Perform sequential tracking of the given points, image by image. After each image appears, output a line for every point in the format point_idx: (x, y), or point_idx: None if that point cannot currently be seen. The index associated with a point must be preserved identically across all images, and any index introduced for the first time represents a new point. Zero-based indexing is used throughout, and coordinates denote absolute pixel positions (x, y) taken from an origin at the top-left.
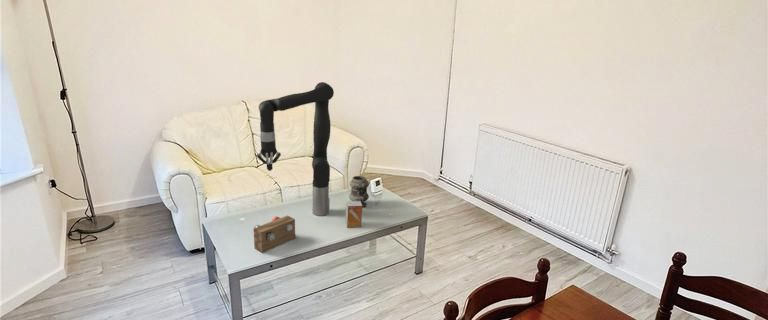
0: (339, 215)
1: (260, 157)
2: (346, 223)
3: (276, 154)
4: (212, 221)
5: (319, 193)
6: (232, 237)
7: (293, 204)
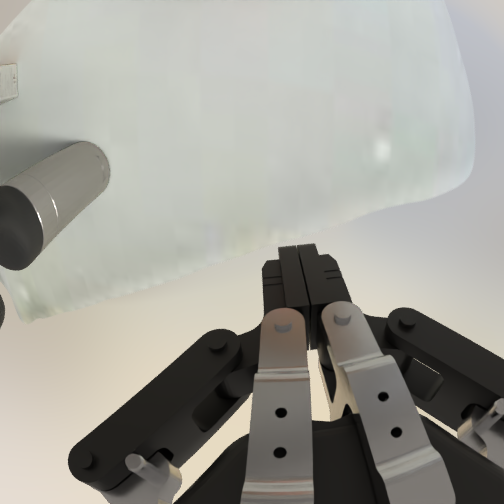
0: (33, 149)
1: (500, 389)
2: (12, 76)
3: (161, 483)
4: (465, 157)
5: (27, 173)
6: (411, 14)
7: (185, 247)
